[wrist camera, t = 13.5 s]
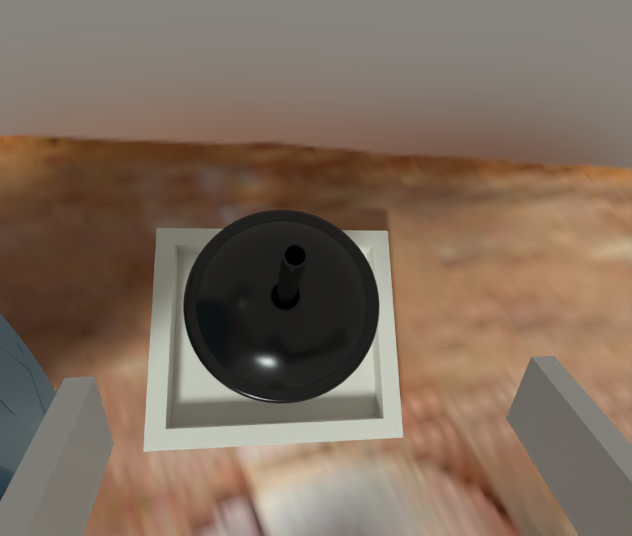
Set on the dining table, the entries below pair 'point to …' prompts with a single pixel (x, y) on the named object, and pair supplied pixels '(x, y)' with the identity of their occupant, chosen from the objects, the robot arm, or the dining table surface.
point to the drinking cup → (281, 306)
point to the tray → (244, 413)
